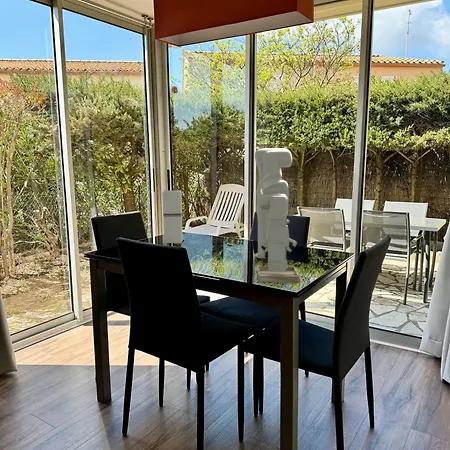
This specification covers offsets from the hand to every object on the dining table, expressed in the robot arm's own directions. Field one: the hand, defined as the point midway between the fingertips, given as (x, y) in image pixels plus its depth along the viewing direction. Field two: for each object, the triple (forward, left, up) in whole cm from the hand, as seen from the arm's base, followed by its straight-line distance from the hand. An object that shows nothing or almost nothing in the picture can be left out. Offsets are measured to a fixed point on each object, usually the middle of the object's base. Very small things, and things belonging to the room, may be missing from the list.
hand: (277, 259), depth 190 cm
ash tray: (0, 0, -8) cm, 8 cm away
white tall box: (-77, -62, -8) cm, 99 cm away
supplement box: (0, 0, -5) cm, 5 cm away
